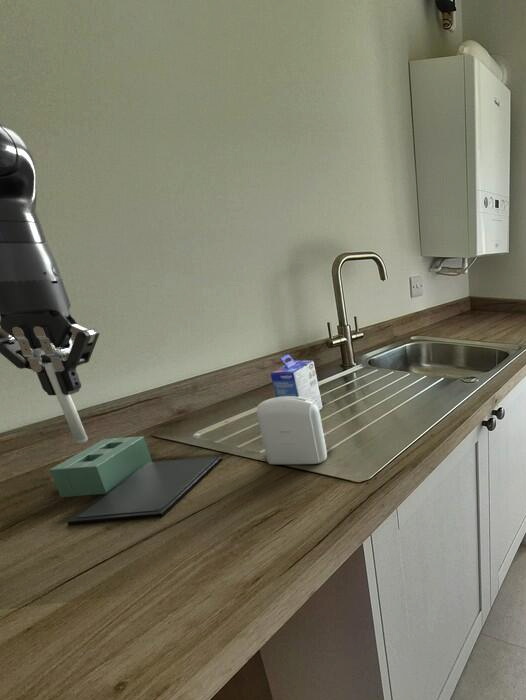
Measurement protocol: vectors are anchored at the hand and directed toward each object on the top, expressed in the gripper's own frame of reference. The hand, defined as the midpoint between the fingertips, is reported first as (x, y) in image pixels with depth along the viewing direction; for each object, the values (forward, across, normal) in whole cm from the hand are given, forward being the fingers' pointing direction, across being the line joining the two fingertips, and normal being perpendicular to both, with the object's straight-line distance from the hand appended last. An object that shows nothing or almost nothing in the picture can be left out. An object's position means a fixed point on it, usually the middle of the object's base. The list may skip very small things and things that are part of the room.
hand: (64, 393), depth 63 cm
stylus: (+8, 0, 0) cm, 8 cm away
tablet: (+16, +10, -3) cm, 19 cm away
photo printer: (+16, +30, +3) cm, 34 cm away
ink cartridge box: (+16, +24, +25) cm, 38 cm away
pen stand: (+16, 0, +2) cm, 16 cm away
